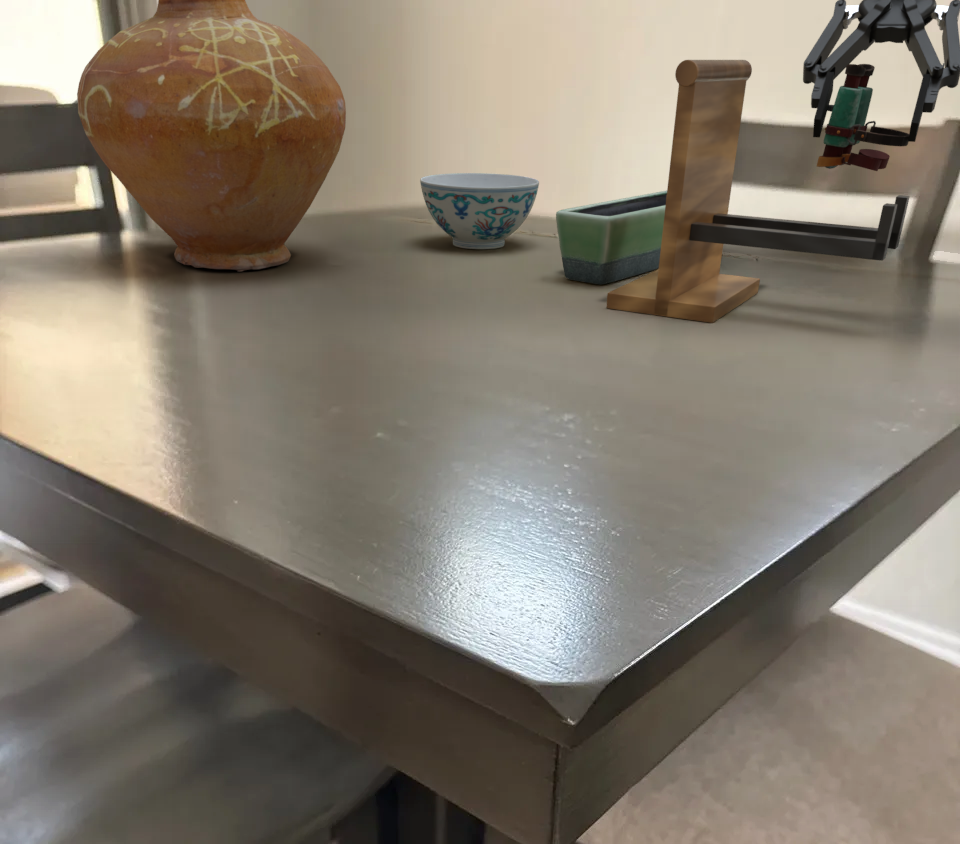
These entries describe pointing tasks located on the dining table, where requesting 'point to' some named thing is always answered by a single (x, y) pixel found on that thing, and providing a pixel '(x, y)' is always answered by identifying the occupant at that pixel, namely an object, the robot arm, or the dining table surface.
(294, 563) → the dining table surface
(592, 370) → the dining table surface
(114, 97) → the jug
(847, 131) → the binoculars
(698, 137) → the hook rack
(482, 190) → the chinaware
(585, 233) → the planter
